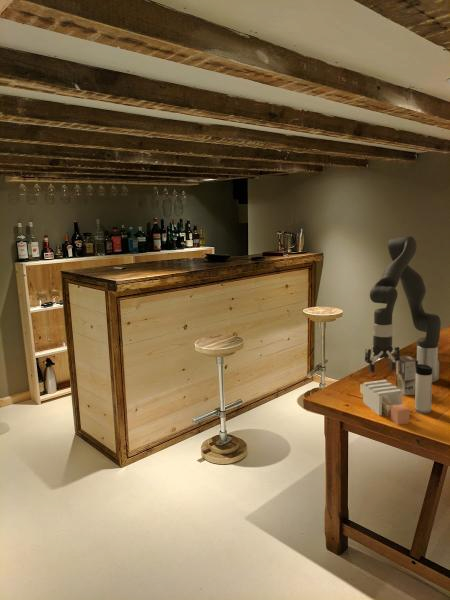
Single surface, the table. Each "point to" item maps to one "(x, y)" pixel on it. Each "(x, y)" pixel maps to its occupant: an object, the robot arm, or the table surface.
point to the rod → (385, 403)
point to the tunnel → (380, 394)
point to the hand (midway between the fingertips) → (382, 371)
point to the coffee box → (406, 374)
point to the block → (400, 414)
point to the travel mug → (423, 388)
